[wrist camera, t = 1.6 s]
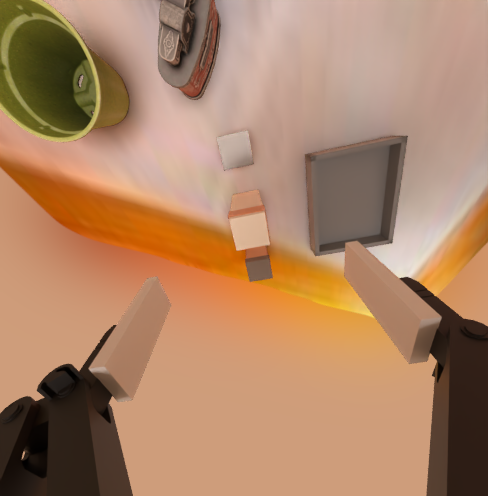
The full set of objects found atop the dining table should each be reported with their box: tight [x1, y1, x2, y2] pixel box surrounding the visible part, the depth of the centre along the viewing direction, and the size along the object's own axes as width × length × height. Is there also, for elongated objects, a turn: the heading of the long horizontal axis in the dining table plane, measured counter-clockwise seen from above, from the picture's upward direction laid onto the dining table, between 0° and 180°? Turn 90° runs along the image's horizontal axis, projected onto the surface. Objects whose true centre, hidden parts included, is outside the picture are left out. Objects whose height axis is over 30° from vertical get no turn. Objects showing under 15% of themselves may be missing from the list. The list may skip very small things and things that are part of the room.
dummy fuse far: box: [245, 245, 273, 282], centre depth 31 cm, size 3×3×6 cm
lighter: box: [158, 0, 221, 100], centre depth 18 cm, size 8×3×10 cm, turn 158°
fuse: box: [228, 190, 270, 251], centre depth 26 cm, size 4×4×10 cm
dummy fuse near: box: [216, 130, 254, 170], centre depth 24 cm, size 3×3×6 cm
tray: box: [305, 136, 408, 256], centre depth 29 cm, size 11×14×3 cm
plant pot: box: [0, 0, 129, 142], centre depth 20 cm, size 9×9×9 cm
